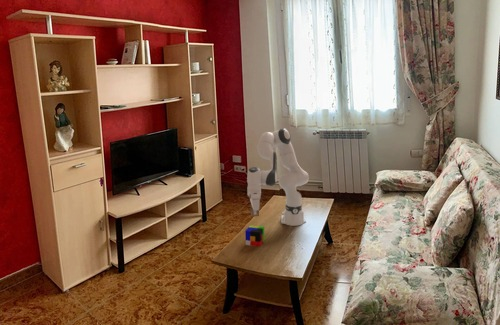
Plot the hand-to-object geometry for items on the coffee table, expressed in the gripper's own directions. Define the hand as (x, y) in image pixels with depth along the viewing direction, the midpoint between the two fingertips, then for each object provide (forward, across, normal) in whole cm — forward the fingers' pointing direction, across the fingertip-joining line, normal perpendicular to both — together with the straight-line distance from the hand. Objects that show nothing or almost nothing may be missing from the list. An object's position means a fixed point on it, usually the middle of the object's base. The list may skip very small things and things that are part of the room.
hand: (254, 212), depth 273 cm
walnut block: (+2, 0, 0) cm, 2 cm away
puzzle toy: (+22, 0, 0) cm, 22 cm away
